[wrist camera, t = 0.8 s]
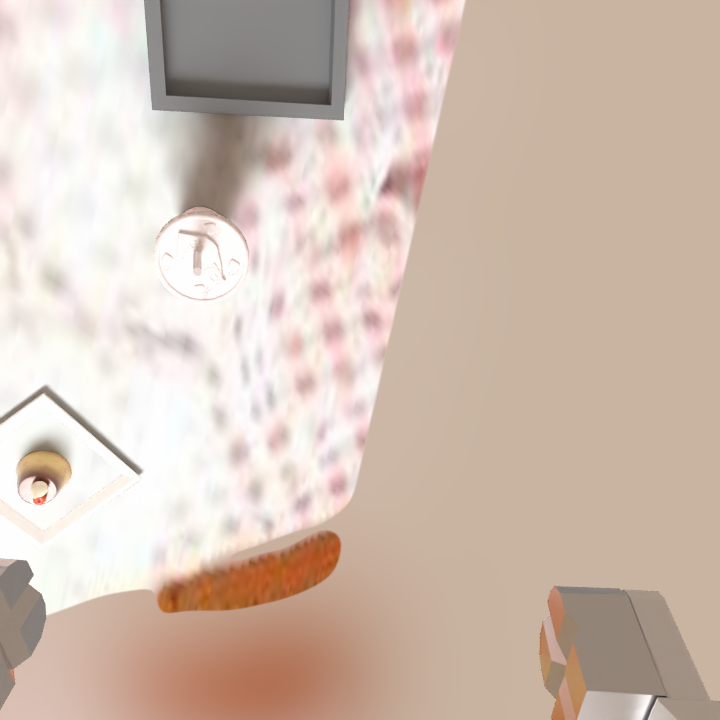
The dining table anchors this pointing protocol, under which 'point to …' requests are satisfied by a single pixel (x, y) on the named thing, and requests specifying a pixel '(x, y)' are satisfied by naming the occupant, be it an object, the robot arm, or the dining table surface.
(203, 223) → the smoothie
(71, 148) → the dining table surface
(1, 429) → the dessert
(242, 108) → the tray
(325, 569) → the dining table surface
